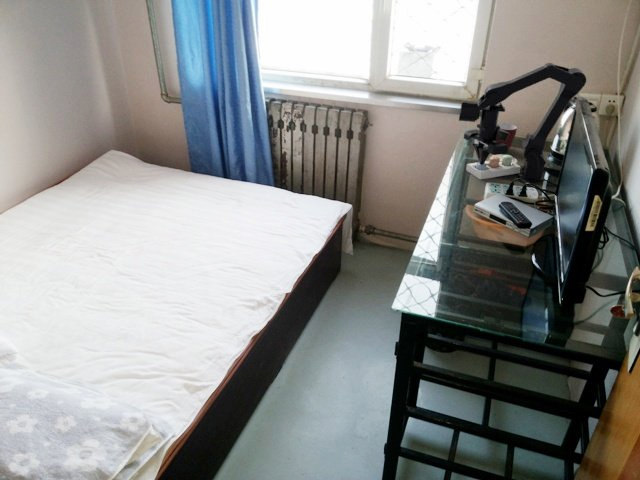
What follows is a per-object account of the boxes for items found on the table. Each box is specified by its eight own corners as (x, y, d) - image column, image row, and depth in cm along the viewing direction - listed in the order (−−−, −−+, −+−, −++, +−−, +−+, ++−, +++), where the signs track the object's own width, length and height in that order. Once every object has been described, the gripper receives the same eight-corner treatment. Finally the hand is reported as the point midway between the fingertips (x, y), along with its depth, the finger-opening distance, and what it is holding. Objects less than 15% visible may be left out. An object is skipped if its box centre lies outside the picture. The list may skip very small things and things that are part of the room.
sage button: (513, 165, 192) (514, 157, 190) (504, 166, 191) (506, 158, 189) (507, 161, 195) (508, 154, 193) (498, 163, 194) (500, 155, 192)
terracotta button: (500, 167, 190) (502, 159, 189) (492, 168, 189) (493, 160, 188) (494, 163, 193) (496, 156, 192) (486, 164, 192) (487, 157, 191)
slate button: (487, 172, 189) (488, 165, 188) (478, 174, 188) (480, 166, 187) (481, 169, 192) (482, 161, 191) (473, 170, 191) (474, 163, 190)
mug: (492, 144, 217) (496, 120, 212) (512, 146, 215) (517, 122, 210) (491, 152, 209) (495, 128, 204) (512, 155, 206) (516, 130, 201)
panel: (519, 172, 191) (520, 166, 190) (480, 179, 186) (481, 173, 185) (504, 164, 198) (505, 158, 197) (466, 170, 193) (467, 163, 192)
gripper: (525, 128, 176) (516, 170, 184) (491, 112, 191) (485, 152, 199) (497, 131, 172) (489, 175, 180) (465, 115, 187) (460, 156, 195)
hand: (481, 164), depth 189 cm, fingers closed, pressing on slate button
